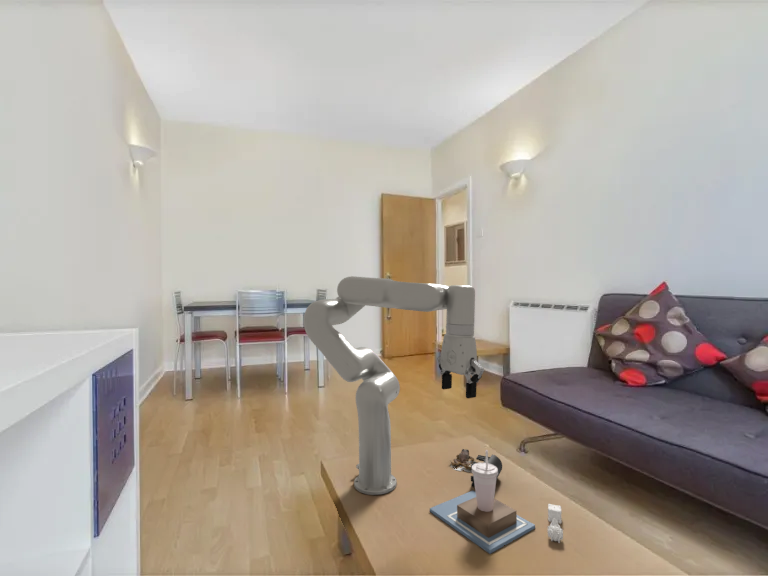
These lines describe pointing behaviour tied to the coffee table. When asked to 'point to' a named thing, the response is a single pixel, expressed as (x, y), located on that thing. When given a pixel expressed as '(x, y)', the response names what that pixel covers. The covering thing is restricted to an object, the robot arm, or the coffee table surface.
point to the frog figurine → (463, 461)
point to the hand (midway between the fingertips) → (458, 392)
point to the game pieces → (555, 523)
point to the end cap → (491, 460)
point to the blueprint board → (491, 544)
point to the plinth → (487, 517)
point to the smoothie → (485, 484)
